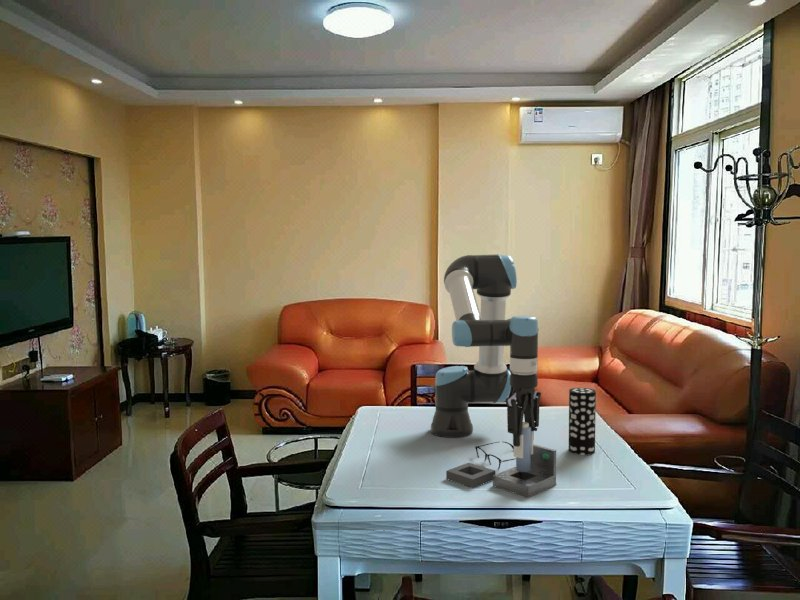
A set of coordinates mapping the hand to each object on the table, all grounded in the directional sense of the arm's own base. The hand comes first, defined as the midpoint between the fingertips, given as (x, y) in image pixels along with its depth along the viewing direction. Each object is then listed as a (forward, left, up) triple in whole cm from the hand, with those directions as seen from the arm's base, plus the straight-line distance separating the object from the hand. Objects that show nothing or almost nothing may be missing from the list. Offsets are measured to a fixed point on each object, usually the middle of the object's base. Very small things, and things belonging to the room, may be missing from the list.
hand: (523, 455), depth 185 cm
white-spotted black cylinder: (-5, +39, -9) cm, 40 cm away
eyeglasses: (-17, +15, -10) cm, 25 cm away
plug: (0, 0, -4) cm, 4 cm away
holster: (-14, -6, -9) cm, 18 cm away
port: (0, 0, -9) cm, 9 cm away
